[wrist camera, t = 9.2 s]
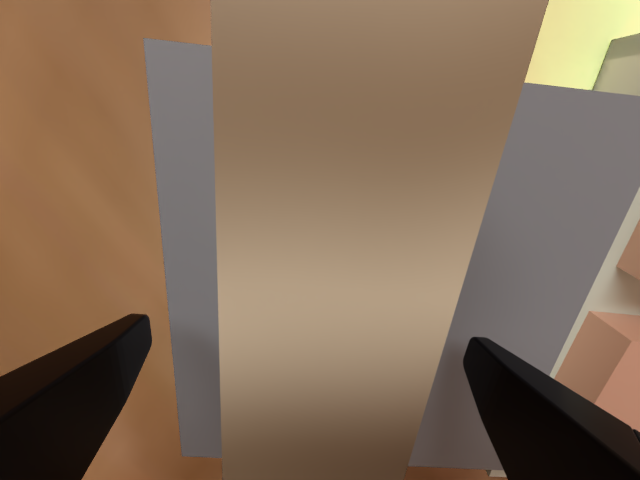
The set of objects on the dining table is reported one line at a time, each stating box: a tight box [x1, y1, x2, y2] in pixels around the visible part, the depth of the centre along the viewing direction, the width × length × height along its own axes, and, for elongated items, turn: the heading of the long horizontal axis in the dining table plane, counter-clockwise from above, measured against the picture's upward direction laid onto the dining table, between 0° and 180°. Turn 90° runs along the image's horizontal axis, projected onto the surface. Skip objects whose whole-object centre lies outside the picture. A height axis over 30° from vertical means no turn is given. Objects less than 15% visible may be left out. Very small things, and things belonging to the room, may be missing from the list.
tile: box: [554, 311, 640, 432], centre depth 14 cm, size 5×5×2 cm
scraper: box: [210, 0, 549, 480], centre depth 8 cm, size 14×3×5 cm, turn 174°
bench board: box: [143, 38, 640, 470], centre depth 12 cm, size 14×13×4 cm
